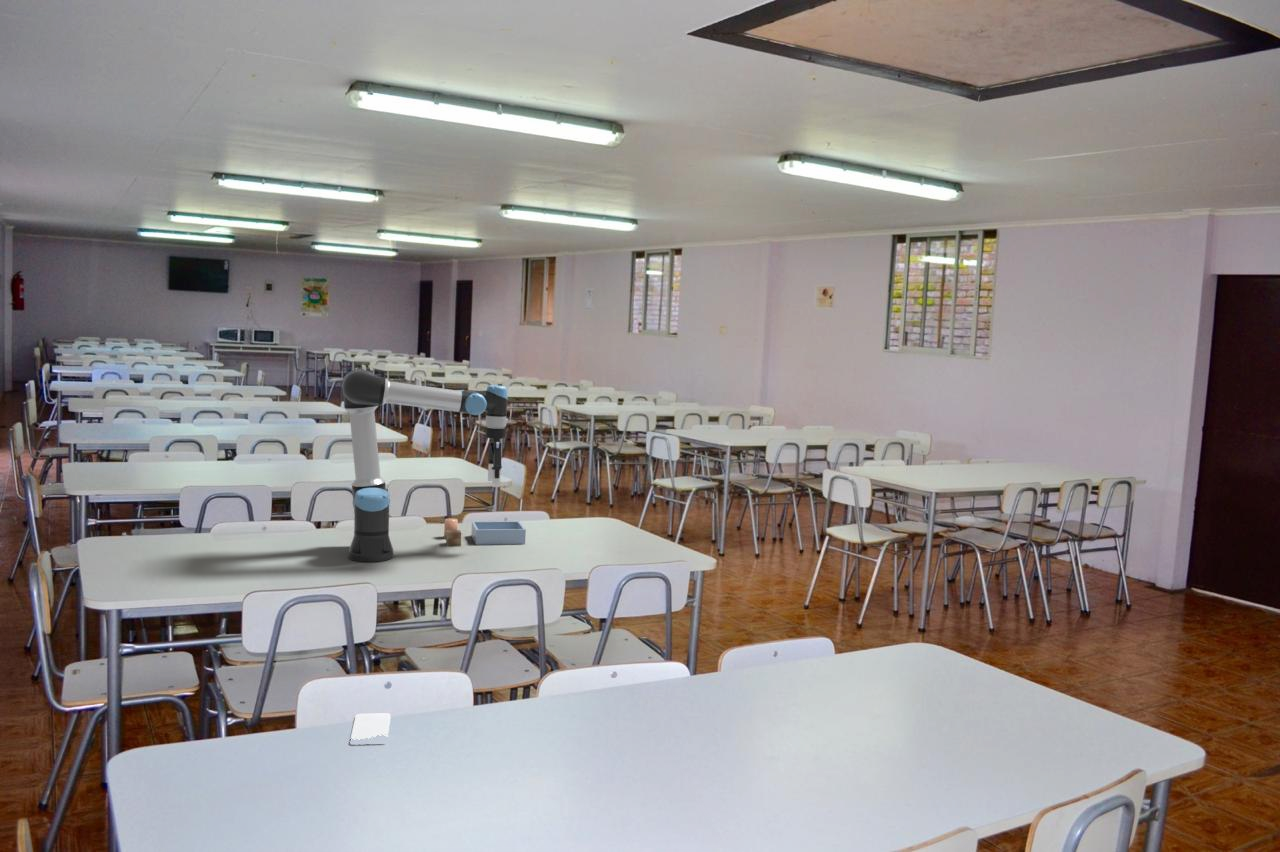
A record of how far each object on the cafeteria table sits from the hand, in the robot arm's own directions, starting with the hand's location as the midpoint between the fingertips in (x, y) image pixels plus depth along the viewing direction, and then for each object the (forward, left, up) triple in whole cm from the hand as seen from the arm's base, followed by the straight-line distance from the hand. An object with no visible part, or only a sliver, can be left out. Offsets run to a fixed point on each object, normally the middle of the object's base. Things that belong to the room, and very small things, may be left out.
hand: (493, 484), depth 369 cm
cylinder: (-14, +15, -24) cm, 31 cm away
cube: (-14, +3, -24) cm, 27 cm away
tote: (+4, +10, -23) cm, 26 cm away
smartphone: (-46, -164, -24) cm, 172 cm away
